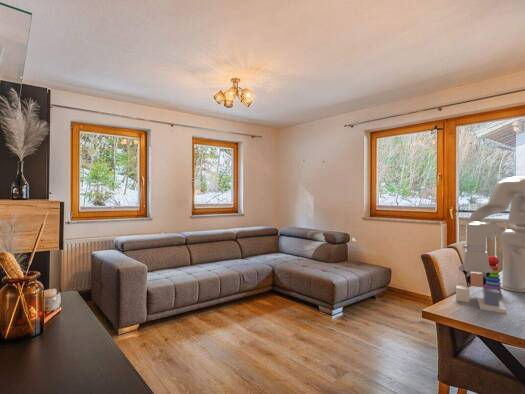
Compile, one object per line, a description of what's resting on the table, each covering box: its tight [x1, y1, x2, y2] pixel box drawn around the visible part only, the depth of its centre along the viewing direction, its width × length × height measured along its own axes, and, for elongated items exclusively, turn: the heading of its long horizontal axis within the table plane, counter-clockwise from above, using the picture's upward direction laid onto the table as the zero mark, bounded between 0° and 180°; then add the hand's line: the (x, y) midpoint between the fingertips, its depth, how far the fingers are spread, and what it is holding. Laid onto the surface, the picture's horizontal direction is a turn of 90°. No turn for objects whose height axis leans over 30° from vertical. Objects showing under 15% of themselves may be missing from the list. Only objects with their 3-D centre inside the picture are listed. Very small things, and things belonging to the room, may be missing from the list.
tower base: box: [476, 288, 507, 314], centre depth 138 cm, size 12×9×8 cm
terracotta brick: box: [469, 272, 483, 288], centre depth 152 cm, size 5×5×6 cm
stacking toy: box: [481, 255, 502, 295], centre depth 158 cm, size 8×8×19 cm
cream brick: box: [455, 284, 470, 303], centre depth 147 cm, size 5×5×6 cm
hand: (476, 284), depth 152 cm, fingers closed on terracotta brick, 5 cm apart
